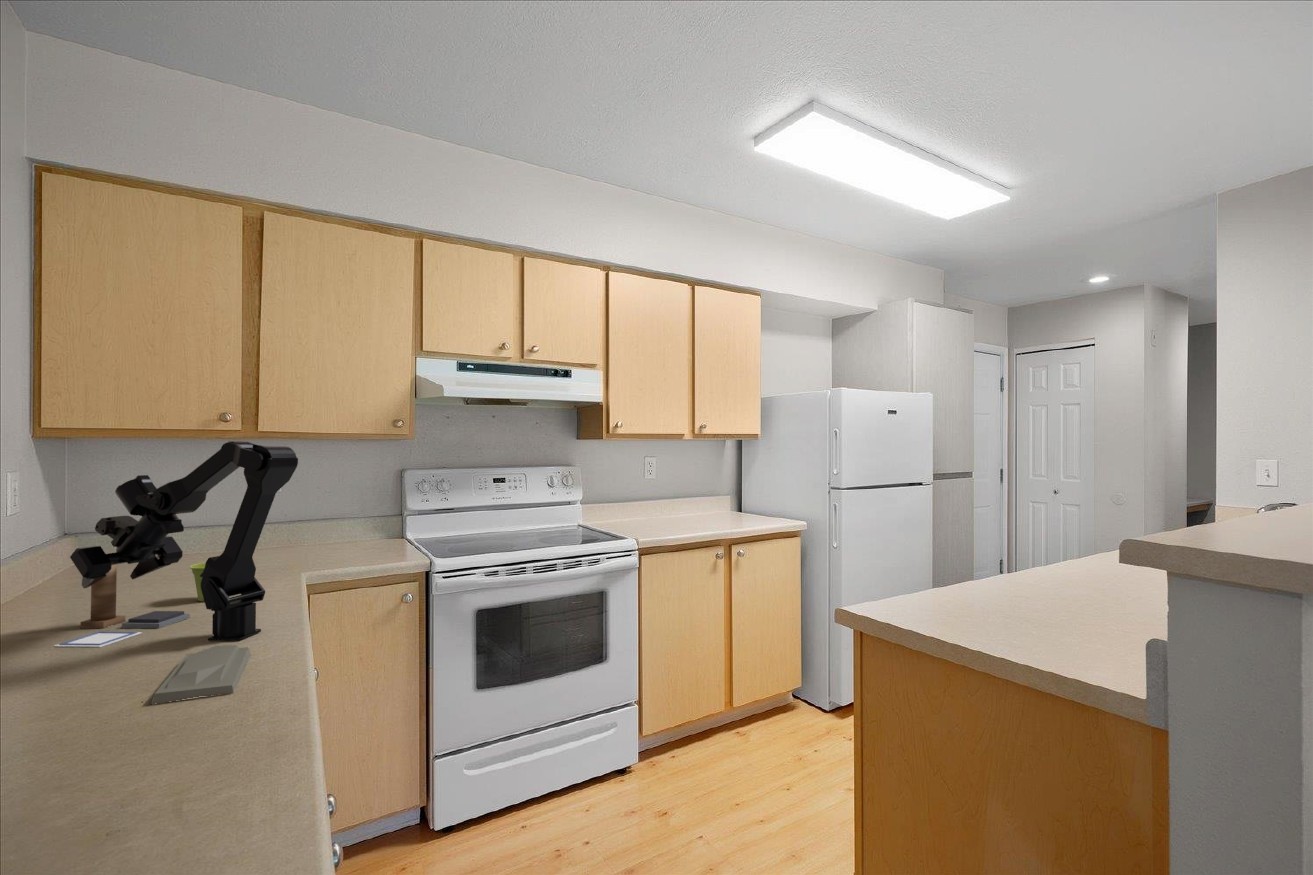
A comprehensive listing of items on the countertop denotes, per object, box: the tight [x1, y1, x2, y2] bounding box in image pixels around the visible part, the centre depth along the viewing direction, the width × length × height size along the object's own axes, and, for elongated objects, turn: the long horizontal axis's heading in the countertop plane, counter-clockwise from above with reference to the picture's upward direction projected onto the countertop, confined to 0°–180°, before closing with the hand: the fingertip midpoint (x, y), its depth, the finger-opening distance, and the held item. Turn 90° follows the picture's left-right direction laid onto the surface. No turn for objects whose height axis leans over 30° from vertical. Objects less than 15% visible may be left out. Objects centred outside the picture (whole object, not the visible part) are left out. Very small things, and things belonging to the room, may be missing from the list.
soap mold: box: [150, 644, 251, 705], centre depth 100 cm, size 10×20×4 cm, turn 26°
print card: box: [53, 631, 143, 648], centre depth 120 cm, size 9×9×1 cm
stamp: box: [79, 564, 126, 629], centre depth 131 cm, size 5×5×12 cm
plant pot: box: [189, 562, 206, 602], centre depth 154 cm, size 9×9×9 cm
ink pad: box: [121, 610, 191, 629], centre depth 132 cm, size 8×8×2 cm
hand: (108, 581), depth 131 cm, fingers open, 9 cm apart
